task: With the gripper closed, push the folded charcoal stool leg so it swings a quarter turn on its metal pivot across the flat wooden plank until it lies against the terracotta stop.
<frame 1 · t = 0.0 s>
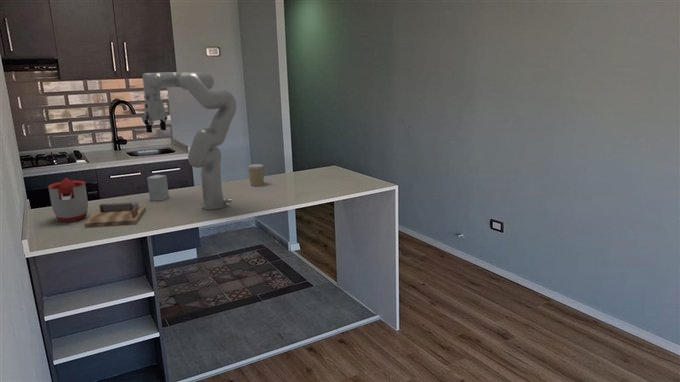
hand: (156, 131, 249), 37 cm above the table, tool pointing down, fingers open, 9 cm apart
citrus juicer: (72, 219, 228), on the table
coffee cup: (257, 185, 288), on the table
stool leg: (119, 206, 234), point 4 cm above the table, hinge at 0.0°
supplement box: (159, 199, 261), on the table
flat wooden plank: (117, 218, 228), on the table
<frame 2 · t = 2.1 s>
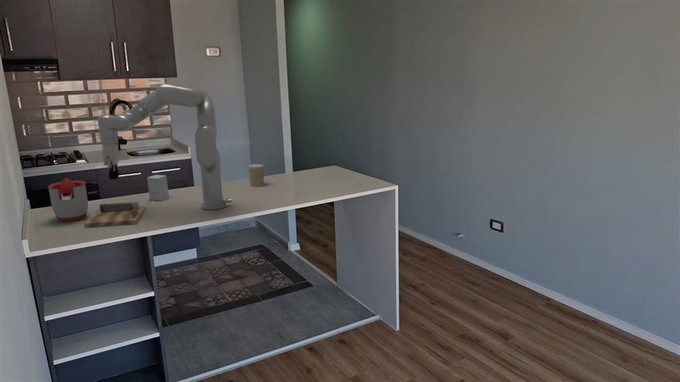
hand: (114, 177, 235), 17 cm above the table, tool pointing down, fingers open, 3 cm apart
nothing on the table moved.
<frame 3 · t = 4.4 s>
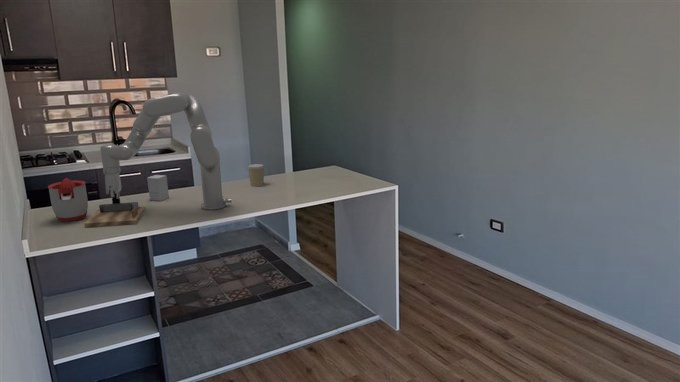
hand: (116, 206, 236), 3 cm above the table, tool pointing down, fingers closed
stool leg: (119, 206, 233), point 4 cm above the table, hinge at 2.6°, touching gripper
everything else where it was.
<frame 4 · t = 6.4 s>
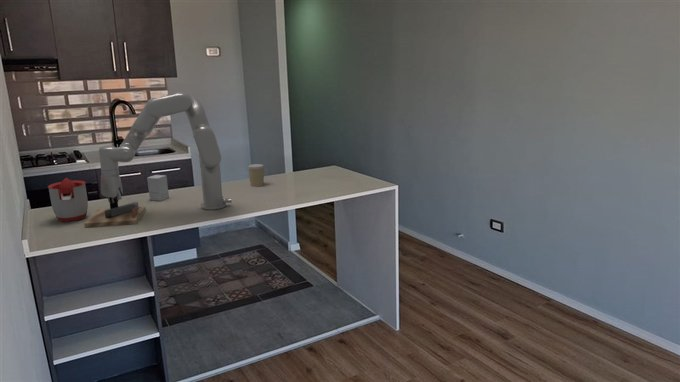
hand: (114, 210, 229), 4 cm above the table, tool pointing down, fingers closed
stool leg: (122, 209, 229), point 4 cm above the table, hinge at 50.4°, touching gripper
everything else where it was.
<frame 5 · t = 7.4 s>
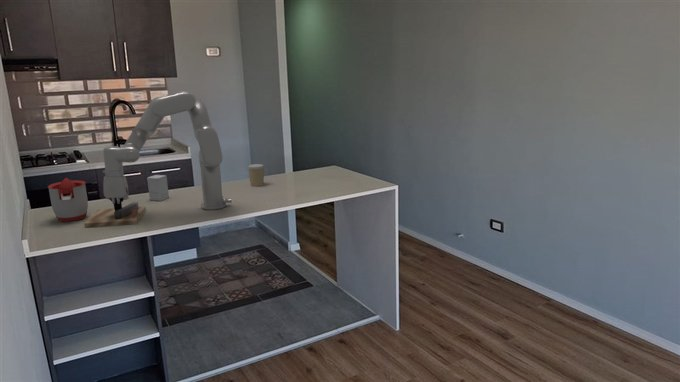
hand: (118, 211, 227), 4 cm above the table, tool pointing down, fingers closed
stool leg: (126, 210, 228), point 4 cm above the table, hinge at 72.1°, touching gripper
everything else where it was.
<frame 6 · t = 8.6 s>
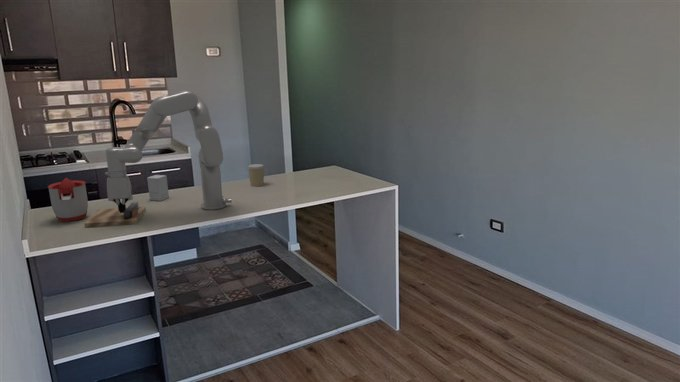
hand: (122, 212, 226), 4 cm above the table, tool pointing down, fingers closed
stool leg: (131, 210, 228), point 4 cm above the table, hinge at 88.8°
everything else where it was.
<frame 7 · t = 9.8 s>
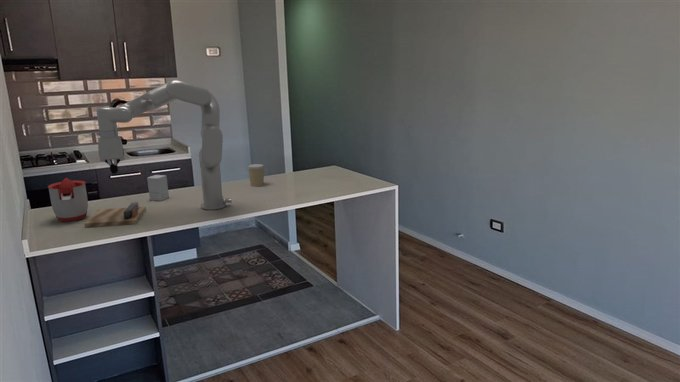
hand: (114, 173, 225), 22 cm above the table, tool pointing down, fingers closed
nothing on the table moved.
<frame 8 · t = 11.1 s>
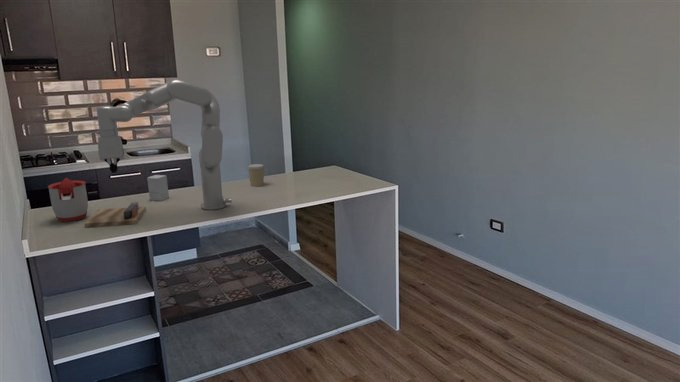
hand: (114, 172, 224), 22 cm above the table, tool pointing down, fingers closed
nothing on the table moved.
at the end: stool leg at +89° (first picture: +0°) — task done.
